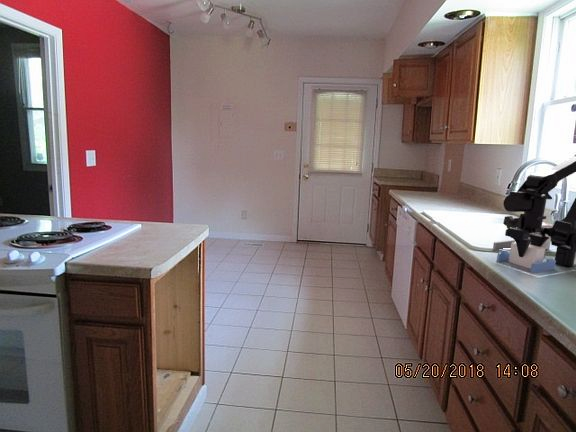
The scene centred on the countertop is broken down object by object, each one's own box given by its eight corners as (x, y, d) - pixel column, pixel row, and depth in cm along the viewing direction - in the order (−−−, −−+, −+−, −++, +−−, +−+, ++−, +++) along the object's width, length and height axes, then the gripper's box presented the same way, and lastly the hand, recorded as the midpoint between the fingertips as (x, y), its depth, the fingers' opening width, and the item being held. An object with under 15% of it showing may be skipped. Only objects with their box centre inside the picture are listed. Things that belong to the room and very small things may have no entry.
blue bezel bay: (517, 259, 144) (519, 248, 143) (554, 270, 133) (556, 258, 132) (496, 262, 139) (498, 250, 138) (532, 274, 128) (534, 261, 127)
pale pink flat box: (516, 260, 141) (519, 241, 140) (541, 268, 133) (545, 248, 132) (508, 261, 139) (511, 242, 138) (533, 269, 131) (537, 249, 130)
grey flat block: (512, 248, 160) (513, 240, 159) (544, 257, 148) (546, 248, 148) (492, 250, 154) (493, 242, 154) (524, 260, 143) (526, 251, 142)
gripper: (527, 206, 143) (520, 247, 146) (494, 208, 135) (487, 252, 138) (559, 212, 134) (551, 256, 137) (525, 214, 125) (517, 261, 128)
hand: (526, 256), depth 135 cm, fingers open, 6 cm apart
